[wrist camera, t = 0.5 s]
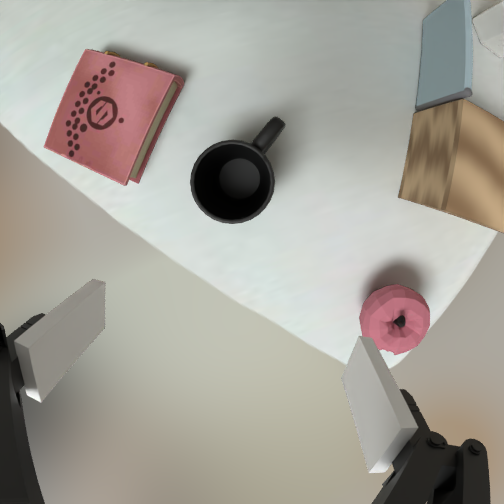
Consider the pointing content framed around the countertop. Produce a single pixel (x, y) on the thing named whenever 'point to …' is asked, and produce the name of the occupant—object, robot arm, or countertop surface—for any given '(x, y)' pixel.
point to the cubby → (457, 163)
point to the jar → (491, 28)
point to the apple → (395, 318)
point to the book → (113, 114)
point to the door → (446, 55)
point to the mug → (236, 177)
